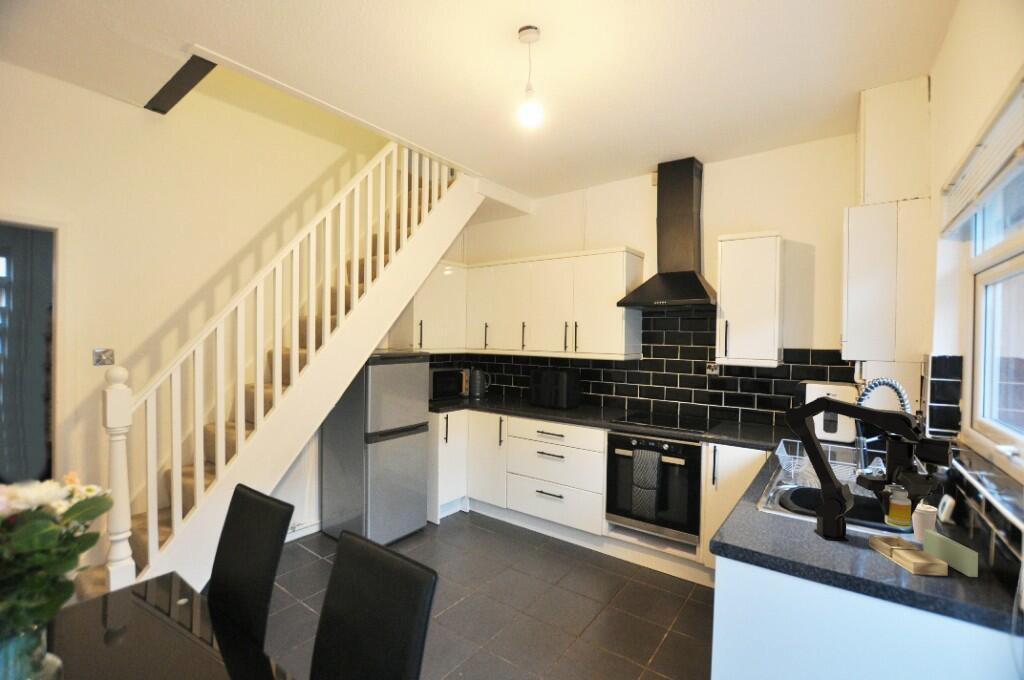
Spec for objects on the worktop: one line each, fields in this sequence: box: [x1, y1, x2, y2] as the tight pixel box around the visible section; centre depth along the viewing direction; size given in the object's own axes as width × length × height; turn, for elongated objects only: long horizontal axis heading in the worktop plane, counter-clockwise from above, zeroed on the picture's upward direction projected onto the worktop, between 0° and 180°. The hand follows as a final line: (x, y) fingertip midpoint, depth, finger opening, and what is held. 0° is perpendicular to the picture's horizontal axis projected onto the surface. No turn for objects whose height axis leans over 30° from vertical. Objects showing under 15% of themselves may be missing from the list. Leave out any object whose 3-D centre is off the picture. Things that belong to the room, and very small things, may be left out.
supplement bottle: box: [884, 487, 912, 529], centre depth 127 cm, size 5×5×10 cm
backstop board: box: [923, 530, 979, 578], centre depth 122 cm, size 2×14×6 cm, turn 175°
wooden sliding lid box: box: [868, 535, 949, 577], centre depth 124 cm, size 8×16×3 cm, turn 176°
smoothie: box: [911, 498, 939, 543], centre depth 137 cm, size 6×6×14 cm
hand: (897, 515), depth 127 cm, fingers closed on supplement bottle, 5 cm apart
